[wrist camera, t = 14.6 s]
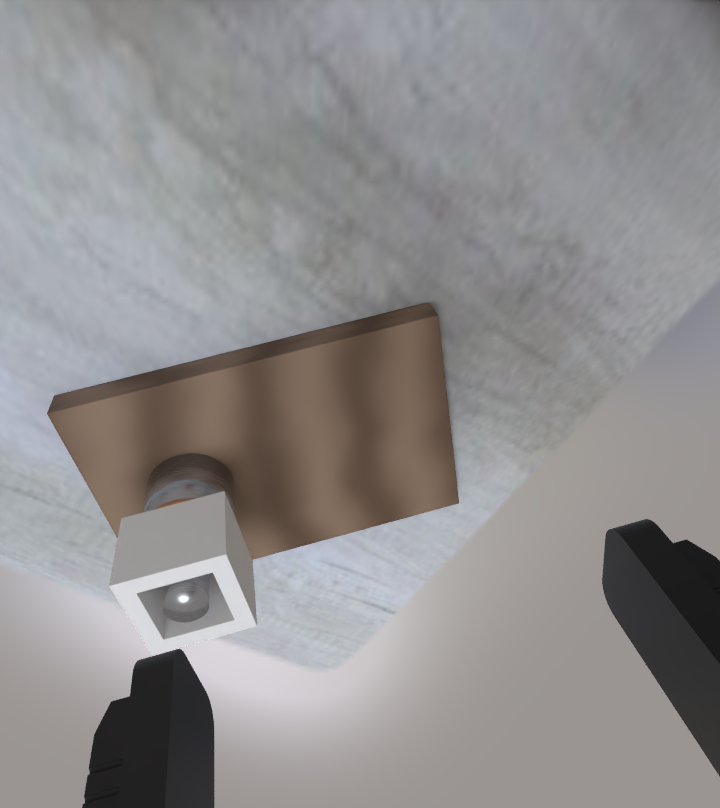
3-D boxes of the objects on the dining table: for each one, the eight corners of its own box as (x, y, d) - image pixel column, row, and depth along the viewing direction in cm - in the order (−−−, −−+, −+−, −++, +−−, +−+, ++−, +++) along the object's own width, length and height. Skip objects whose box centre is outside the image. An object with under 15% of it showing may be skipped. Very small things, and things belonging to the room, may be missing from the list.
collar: (224, 491, 36) (226, 554, 32) (252, 560, 39) (257, 625, 35) (121, 518, 35) (109, 586, 31) (158, 586, 39) (151, 655, 35)
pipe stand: (428, 302, 40) (500, 401, 30) (450, 486, 49) (511, 608, 39) (54, 395, 38) (-2, 532, 28) (148, 568, 47) (131, 718, 37)
